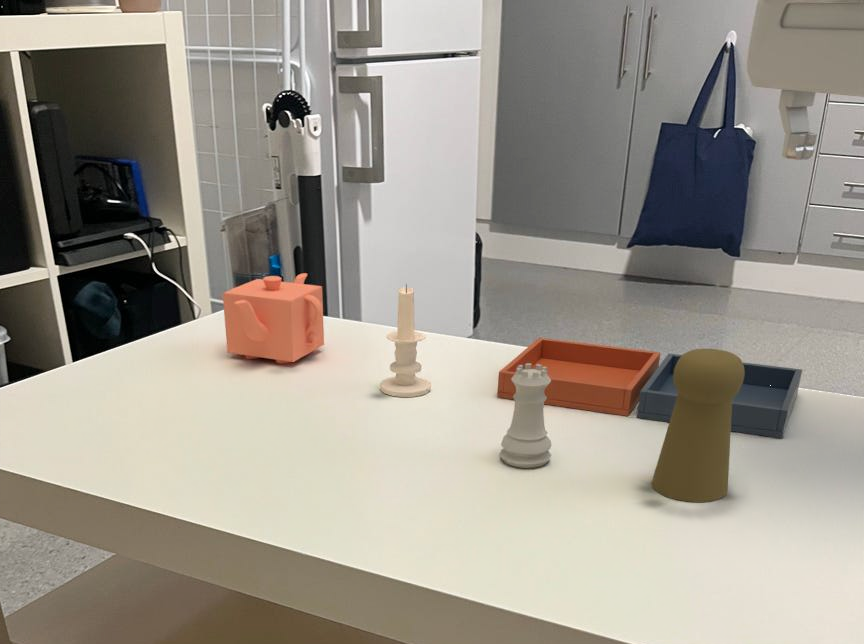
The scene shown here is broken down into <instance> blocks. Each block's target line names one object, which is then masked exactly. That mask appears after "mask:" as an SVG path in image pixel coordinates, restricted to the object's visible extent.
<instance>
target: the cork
mask: <svg viewBox="0 0 864 644" xmlns="http://www.w3.org/2000/svg"><path fill="white" fill-rule="evenodd" d="M681 355H682V356H681V357H680V359H679V360H678V362H677V364H676V366H675V369H674V375H673V379H674V385H675V388H676V389H677V391H678V395H677V399H676V402H675V405H674V409H673V412H672V416H671V419H670V422H668V426H667V429H666V432H665V436H664V439H663V443H662V446H661V449H660V454H659V456H658V459H657V462H656V466H655V469H654V472H653V476H652V480H651V484H650V485H651V487H652V489H654V490H655V492H657V493H659V494H660V495H662V496H664V497H666V498H670V499H674V500H677V501H680V502H681V501H683V502H689V503H707V502H714V501H717V500H721V499H722V498H724V497H725V496H727V494H728V492H729V475H730V472H729V471H730V455H731V454H730V453H731V434H732V431H731V416H732V398H733V397H734V396H735V395H736V394H737V393H738V392H739V390H740V388H741V386H742V383H743V380H744V375H745V372H744V365H743V363H742V362H743V361H742V359H741V358H740V357H739V356H738V355H737V354H735V353H733V352H730V351H727V350H723V349H718V348H695V349H690V350H689V351H686V352H684V353H682V354H681Z"/></svg>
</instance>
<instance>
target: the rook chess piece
mask: <svg viewBox="0 0 864 644" xmlns="http://www.w3.org/2000/svg"><path fill="white" fill-rule="evenodd" d="M511 380H512V381H513V383H514V385H515V386H516V393H515V394H514V396H513V398H514V400H513V401H514V409H513V414H512V419H511V423H510V426H509V428H508V429H507V430H506V434H505V435H503V438H502V440H501V442H500V445H501V447H502V449H500V452H499V455H500V457H501V459H502V460H503V462H504V463H505V464H507V465H509V466H511V467H515V468H520V469H535V468H539V467H543V466H544V465H546V464H547V463H548V462H549V461H550V459H551V457H552V453H551V452H550V450H551V448H552V441H551V439H550V438H549V436H548V431H547V430H546V427H545V416H544V409H545V408H544V405H545V404H544V402H545V400H546V399H547V397H546V396H545V394H544V390H545V388H546V387H547V386H548V384H549V383H550V382H551V379H550V378H549V376H548V375H547V367H543V370H542V365H539V364H536V369H531V364H525V369H524V370H523V365H519V366H517V370H516V374H515V375H514V376H513V377H512V379H511Z"/></svg>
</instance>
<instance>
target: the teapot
mask: <svg viewBox="0 0 864 644" xmlns="http://www.w3.org/2000/svg"><path fill="white" fill-rule="evenodd" d="M307 277H308V273H306V272H303V273H300V274H298V275H297V276H295V278H294V280H293V282H289V281H282V280H283V279H282V277H280V276H278V275H268V276H265V277H262V279H261V278H256V279H253V280H251V281H249V282H246V283H243V284H241V285H238V286H235V287H233V288H232V289H229V290H227V291H224V292H223V293H222V303H223V316H224V325H225V326H224V327H225V338H226V349H227V351H226V352H227V353H228V354H236V355H241V356H245V359H247V360H257V359H260V358H264V359H268V360H269V359H270V360H275V363H277V364H289V363H294V362H296V361H298V360H299V359H301V358H304V357H305V356H307V355H308V354H310V353H312V352H314V351H316V350H318V349H319V348H322V347H323V346H324V345H325V332H324V331H325V330H324V329H325V328H324V300H323V286H321V285H315V284H305V280H306V279H307Z"/></svg>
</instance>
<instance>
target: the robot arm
mask: <svg viewBox="0 0 864 644" xmlns="http://www.w3.org/2000/svg"><path fill="white" fill-rule="evenodd" d="M749 38H750V39H749V45H748V50H747V51H748V52H747V57H746V58H747V59H746V71H747V75H748V79H749V82H750V84H751V86H752V87H754V88H761V89H762V88H764V89H771V90H772V89H774V90H780V96H779V101H778V109H779V114H780V118H781V123H782V128H783V132H784V133H785V134H784V139H783V145H782V149H781V156H782V157H783V158H784V159H789V160H795V161H803V160H809V159H811V158H812V157H813V155H814V152H815V148H814V146H815V144H816V143H817V136H818V133H815V132H811V131H810V130H811V129H810V122H809V115H808V114H809V113H808V112H809V111H808V107H812V106H814V103H815V98H816V94H825V95H826V94H827V95H837V96H847V97H859V98H864V0H757V3H756V6H755V11H754V16H753V21H752V27H751V32H750V37H749Z"/></svg>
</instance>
